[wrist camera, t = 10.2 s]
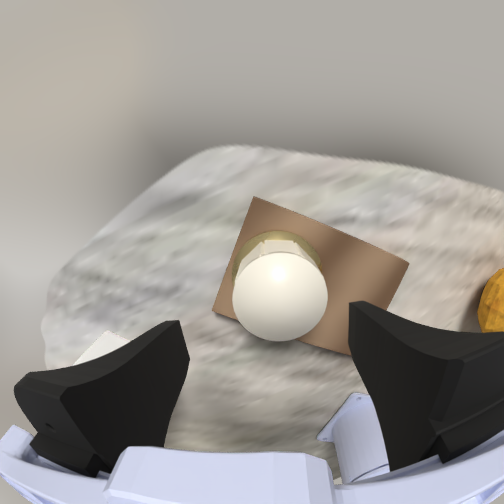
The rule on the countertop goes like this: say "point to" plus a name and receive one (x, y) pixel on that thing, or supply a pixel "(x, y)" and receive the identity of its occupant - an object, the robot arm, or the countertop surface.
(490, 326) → the potato
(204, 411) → the countertop surface
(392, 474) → the robot arm
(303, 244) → the knob
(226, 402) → the countertop surface
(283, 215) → the board
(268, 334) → the cap
